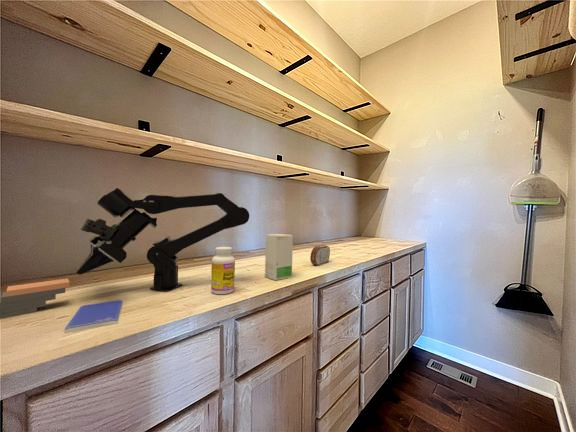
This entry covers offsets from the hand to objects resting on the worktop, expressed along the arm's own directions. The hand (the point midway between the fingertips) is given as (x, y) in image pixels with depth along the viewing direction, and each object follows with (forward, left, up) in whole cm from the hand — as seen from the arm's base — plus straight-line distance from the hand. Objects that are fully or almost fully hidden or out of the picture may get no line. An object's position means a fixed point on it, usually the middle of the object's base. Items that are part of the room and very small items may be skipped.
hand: (77, 273), depth 61 cm
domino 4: (+6, -4, -7) cm, 10 cm away
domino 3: (+5, -3, -6) cm, 8 cm away
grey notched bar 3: (+3, -2, -4) cm, 6 cm away
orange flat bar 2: (+2, -1, -3) cm, 4 cm away
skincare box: (-38, +42, -7) cm, 57 cm away
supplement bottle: (-18, +31, -7) cm, 36 cm away
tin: (-66, +54, -7) cm, 85 cm away
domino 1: (+1, -1, -2) cm, 3 cm away
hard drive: (+5, +14, -8) cm, 16 cm away
